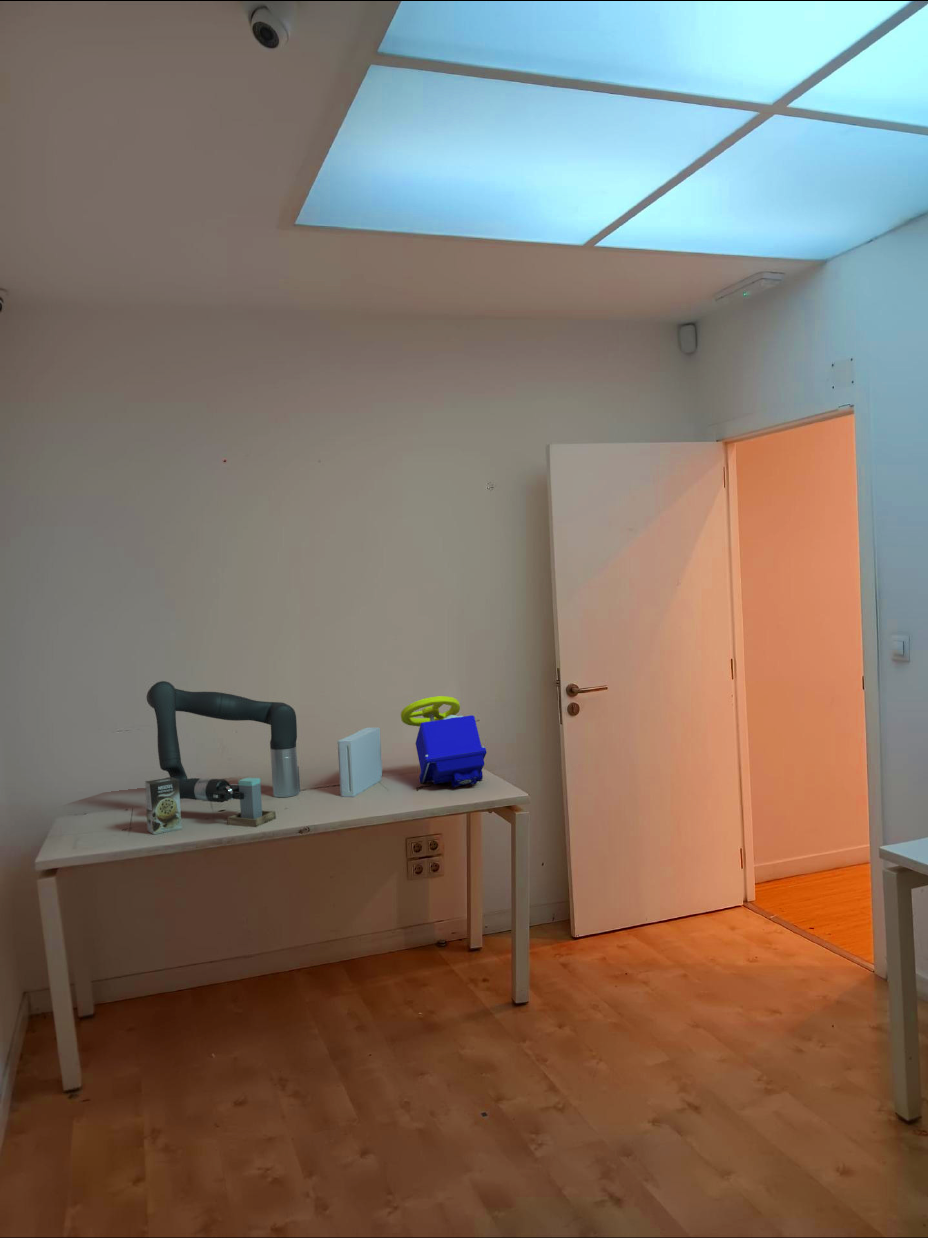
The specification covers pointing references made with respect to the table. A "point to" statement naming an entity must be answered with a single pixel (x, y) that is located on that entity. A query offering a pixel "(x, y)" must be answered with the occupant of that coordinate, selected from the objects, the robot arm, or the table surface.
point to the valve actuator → (446, 742)
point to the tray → (251, 822)
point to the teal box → (250, 798)
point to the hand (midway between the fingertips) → (251, 792)
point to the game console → (359, 761)
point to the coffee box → (163, 805)
